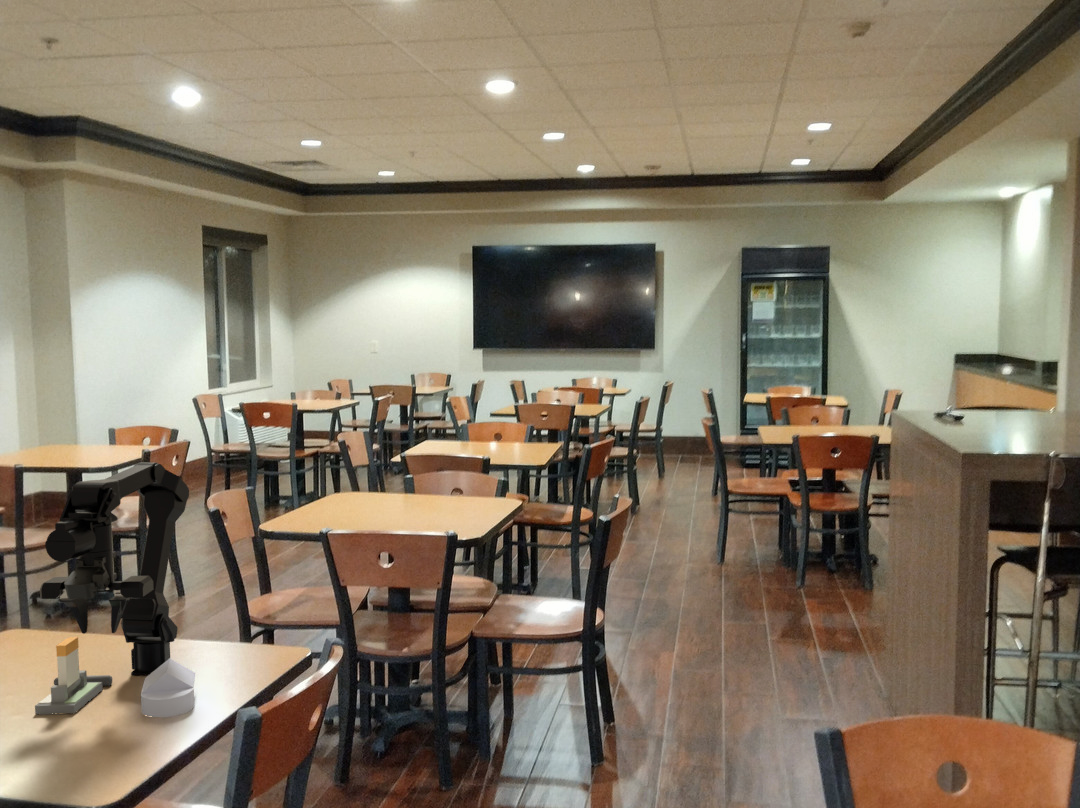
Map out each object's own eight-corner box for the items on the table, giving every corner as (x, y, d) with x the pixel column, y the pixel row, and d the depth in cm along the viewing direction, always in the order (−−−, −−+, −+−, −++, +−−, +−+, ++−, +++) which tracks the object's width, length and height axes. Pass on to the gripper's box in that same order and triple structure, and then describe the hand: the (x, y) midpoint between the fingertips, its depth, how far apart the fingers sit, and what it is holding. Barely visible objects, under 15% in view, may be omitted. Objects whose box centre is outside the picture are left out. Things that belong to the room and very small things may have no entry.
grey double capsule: (115, 681, 197) (115, 672, 197) (108, 687, 193) (108, 678, 193) (60, 681, 196) (59, 673, 196) (52, 688, 193) (51, 678, 193)
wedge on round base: (145, 695, 189) (139, 720, 176) (144, 660, 188) (137, 683, 176) (196, 689, 191) (193, 714, 179) (194, 655, 191) (191, 677, 178)
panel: (102, 690, 192) (101, 667, 191) (74, 713, 180) (73, 690, 179) (65, 690, 192) (64, 668, 191) (35, 714, 180) (34, 690, 179)
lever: (81, 686, 188) (79, 636, 188) (68, 696, 183) (65, 645, 182) (71, 686, 188) (68, 636, 188) (57, 697, 183) (54, 646, 182)
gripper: (22, 560, 176) (26, 647, 177) (129, 558, 176) (132, 645, 177) (52, 546, 187) (56, 628, 188) (153, 545, 187) (156, 627, 188)
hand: (99, 632), depth 185 cm, fingers open, 5 cm apart
